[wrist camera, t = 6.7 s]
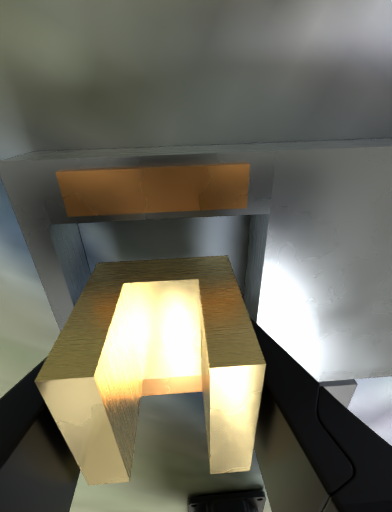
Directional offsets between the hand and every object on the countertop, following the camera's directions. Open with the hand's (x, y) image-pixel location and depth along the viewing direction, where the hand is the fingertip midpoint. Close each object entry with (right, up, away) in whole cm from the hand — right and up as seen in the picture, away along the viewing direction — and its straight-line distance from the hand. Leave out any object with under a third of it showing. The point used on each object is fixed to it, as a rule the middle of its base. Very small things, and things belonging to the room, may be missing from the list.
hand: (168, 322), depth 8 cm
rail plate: (+4, +2, +3) cm, 5 cm away
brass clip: (0, 0, 0) cm, 1 cm away
